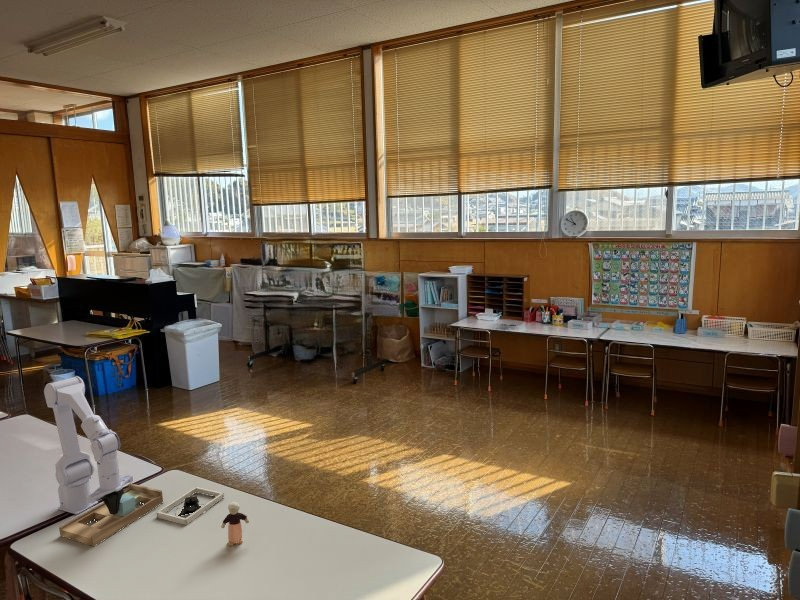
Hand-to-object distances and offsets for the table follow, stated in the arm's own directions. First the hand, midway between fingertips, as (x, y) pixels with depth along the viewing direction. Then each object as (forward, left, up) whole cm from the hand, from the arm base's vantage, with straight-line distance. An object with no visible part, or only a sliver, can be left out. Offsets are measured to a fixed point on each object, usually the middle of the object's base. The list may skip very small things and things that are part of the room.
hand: (113, 513), depth 170 cm
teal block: (0, +4, -2) cm, 4 cm away
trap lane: (-3, +2, -4) cm, 6 cm away
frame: (+15, +17, -4) cm, 23 cm away
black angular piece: (+16, +15, -5) cm, 23 cm away
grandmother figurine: (+42, +7, -4) cm, 43 cm away
